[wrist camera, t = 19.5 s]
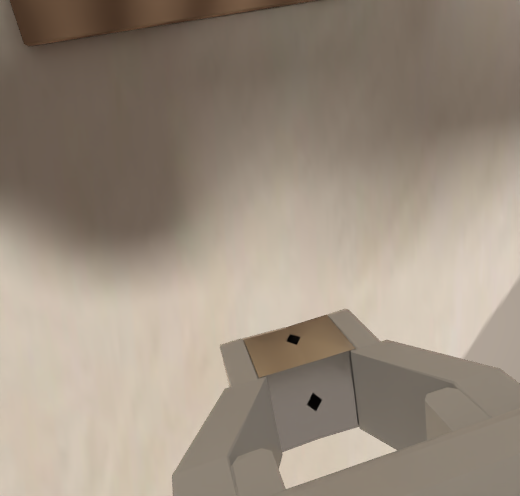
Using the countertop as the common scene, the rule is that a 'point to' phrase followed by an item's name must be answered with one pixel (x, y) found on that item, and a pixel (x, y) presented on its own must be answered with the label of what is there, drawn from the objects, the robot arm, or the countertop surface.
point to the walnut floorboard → (118, 15)
